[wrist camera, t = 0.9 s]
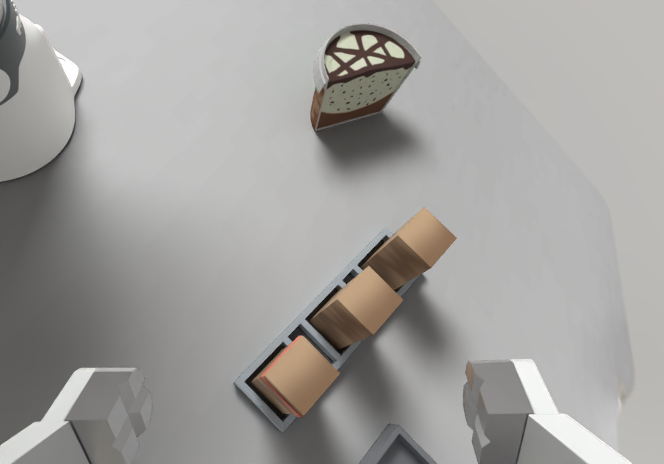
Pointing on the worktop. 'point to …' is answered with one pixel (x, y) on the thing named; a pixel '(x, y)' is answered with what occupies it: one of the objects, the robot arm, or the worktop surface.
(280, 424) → the holder
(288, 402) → the block
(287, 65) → the worktop surface
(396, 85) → the food container
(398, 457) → the tray
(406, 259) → the plain cartridge
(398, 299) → the plain cartridge
